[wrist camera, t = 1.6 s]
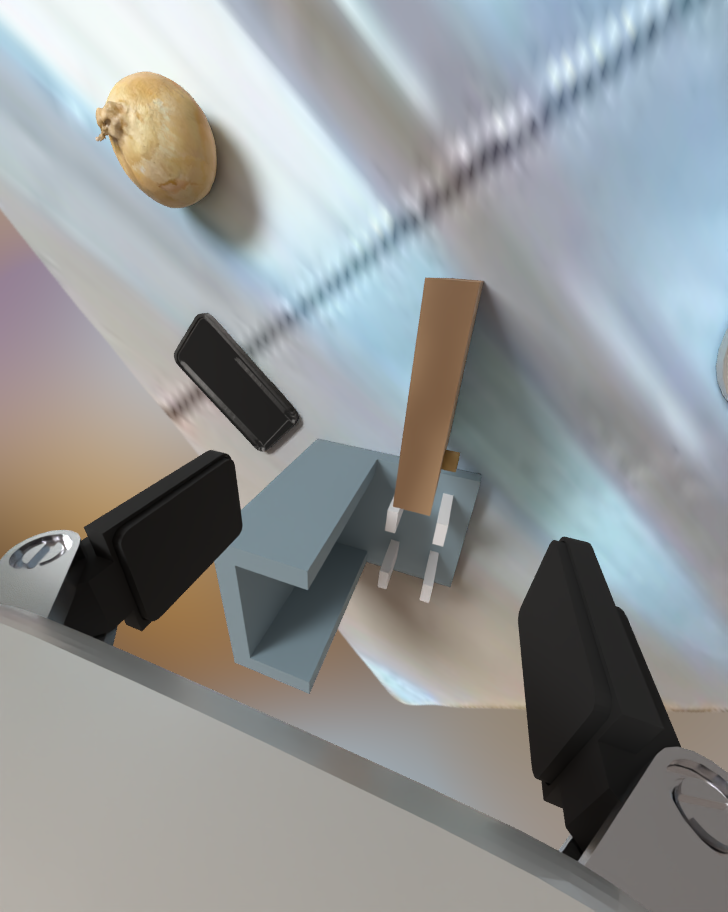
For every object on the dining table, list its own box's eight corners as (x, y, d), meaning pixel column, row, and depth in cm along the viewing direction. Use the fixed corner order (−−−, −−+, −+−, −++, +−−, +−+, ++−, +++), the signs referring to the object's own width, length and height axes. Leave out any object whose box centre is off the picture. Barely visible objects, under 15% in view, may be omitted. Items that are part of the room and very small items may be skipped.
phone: (261, 454, 41) (170, 357, 38) (266, 450, 42) (178, 355, 39) (299, 419, 37) (200, 307, 34) (304, 415, 38) (208, 307, 35)
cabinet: (481, 474, 34) (475, 626, 19) (451, 577, 41) (430, 745, 26) (317, 438, 38) (209, 539, 23) (317, 537, 45) (234, 662, 31)
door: (496, 282, 26) (504, 284, 14) (461, 432, 32) (446, 520, 21) (452, 278, 27) (425, 277, 15) (426, 426, 33) (392, 506, 21)
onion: (198, 67, 26) (111, 4, 20) (248, 182, 28) (184, 156, 23) (139, 133, 30) (50, 96, 24) (188, 231, 32) (120, 220, 26)
